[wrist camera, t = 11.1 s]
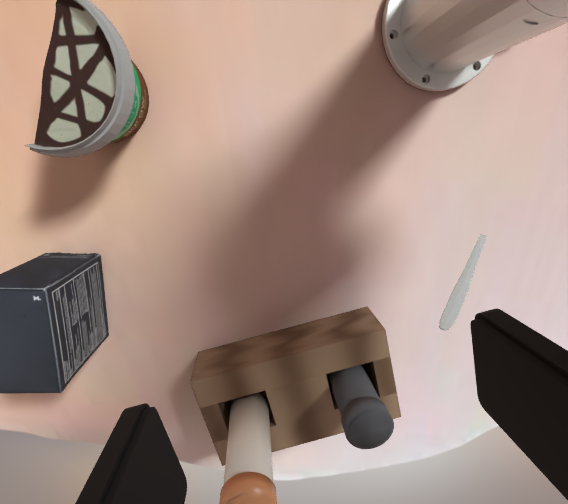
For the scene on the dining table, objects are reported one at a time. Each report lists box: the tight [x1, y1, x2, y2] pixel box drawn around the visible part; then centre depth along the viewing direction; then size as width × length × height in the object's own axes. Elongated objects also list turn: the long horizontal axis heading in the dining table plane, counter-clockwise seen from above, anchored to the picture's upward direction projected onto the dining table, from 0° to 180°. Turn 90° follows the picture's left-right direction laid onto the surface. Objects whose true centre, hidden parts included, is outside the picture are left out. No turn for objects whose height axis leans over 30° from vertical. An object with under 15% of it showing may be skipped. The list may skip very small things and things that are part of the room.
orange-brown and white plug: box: [220, 393, 277, 504], centre depth 34 cm, size 5×5×12 cm
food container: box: [25, 0, 149, 157], centre depth 30 cm, size 12×6×10 cm, turn 161°
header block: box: [190, 307, 401, 466], centre depth 41 cm, size 22×12×6 cm, turn 104°
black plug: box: [327, 364, 394, 449], centre depth 38 cm, size 5×5×12 cm
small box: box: [0, 253, 109, 393], centre depth 34 cm, size 11×6×10 cm, turn 178°
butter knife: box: [439, 234, 487, 330], centre depth 42 cm, size 1×27×3 cm
